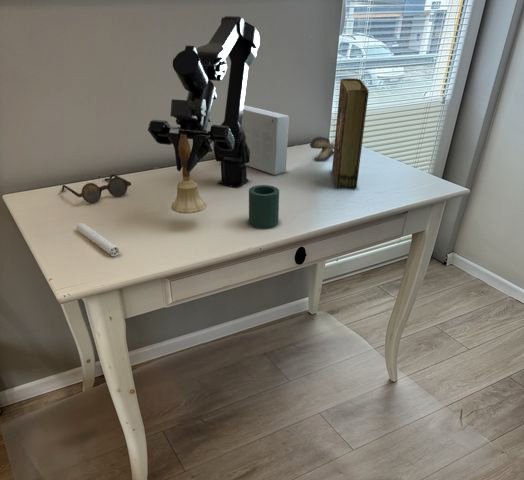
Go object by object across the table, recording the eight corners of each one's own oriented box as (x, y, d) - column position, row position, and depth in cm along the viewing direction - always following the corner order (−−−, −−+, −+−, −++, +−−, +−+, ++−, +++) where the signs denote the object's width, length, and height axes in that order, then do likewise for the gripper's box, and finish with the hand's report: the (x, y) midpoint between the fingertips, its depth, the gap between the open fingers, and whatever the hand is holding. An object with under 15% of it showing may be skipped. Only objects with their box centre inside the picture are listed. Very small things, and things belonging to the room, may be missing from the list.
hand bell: (167, 202, 117) (159, 131, 107) (201, 198, 120) (196, 128, 110) (176, 216, 111) (168, 142, 101) (211, 211, 114) (207, 138, 104)
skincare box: (287, 172, 150) (290, 115, 140) (274, 175, 147) (276, 118, 137) (241, 156, 162) (240, 103, 152) (228, 159, 159) (227, 105, 149)
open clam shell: (316, 147, 166) (304, 149, 159) (330, 130, 162) (317, 130, 155) (331, 164, 165) (319, 166, 158) (345, 147, 161) (334, 148, 154)
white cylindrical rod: (74, 230, 115) (72, 220, 114) (83, 227, 116) (81, 218, 115) (111, 257, 105) (109, 247, 103) (120, 254, 106) (118, 244, 104)
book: (331, 170, 151) (340, 78, 136) (349, 170, 151) (360, 78, 136) (336, 189, 138) (346, 89, 123) (356, 189, 138) (369, 90, 123)
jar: (243, 224, 119) (243, 192, 114) (258, 215, 123) (258, 183, 118) (269, 231, 116) (269, 197, 111) (283, 220, 121) (284, 188, 116)
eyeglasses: (81, 206, 127) (76, 187, 124) (58, 190, 136) (54, 172, 133) (132, 194, 134) (130, 175, 131) (108, 179, 143) (105, 161, 140)
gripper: (145, 78, 105) (128, 147, 103) (228, 84, 101) (211, 156, 99) (165, 110, 115) (150, 173, 114) (241, 116, 111) (226, 182, 110)
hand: (183, 171), depth 109 cm, fingers closed on hand bell
